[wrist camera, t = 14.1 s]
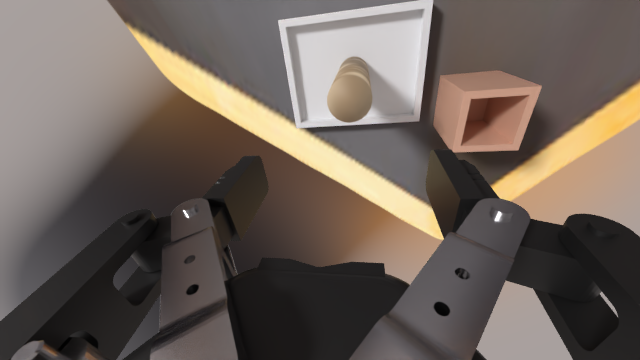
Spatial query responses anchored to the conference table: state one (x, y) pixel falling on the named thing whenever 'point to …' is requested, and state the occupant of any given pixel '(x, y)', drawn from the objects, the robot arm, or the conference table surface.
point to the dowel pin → (350, 91)
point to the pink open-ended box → (484, 110)
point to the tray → (367, 43)
